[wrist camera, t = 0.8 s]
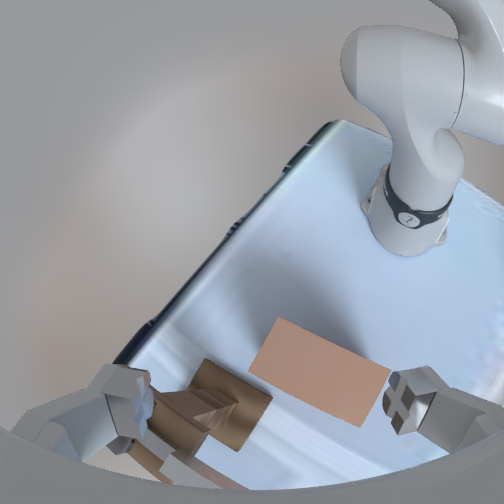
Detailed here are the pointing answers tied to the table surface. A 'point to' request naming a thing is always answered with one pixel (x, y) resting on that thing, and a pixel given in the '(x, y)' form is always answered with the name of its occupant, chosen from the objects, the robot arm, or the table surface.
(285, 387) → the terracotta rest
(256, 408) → the walnut shelf stand
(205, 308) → the table surface
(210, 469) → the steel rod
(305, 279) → the table surface
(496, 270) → the table surface
